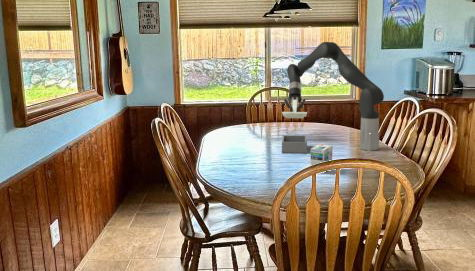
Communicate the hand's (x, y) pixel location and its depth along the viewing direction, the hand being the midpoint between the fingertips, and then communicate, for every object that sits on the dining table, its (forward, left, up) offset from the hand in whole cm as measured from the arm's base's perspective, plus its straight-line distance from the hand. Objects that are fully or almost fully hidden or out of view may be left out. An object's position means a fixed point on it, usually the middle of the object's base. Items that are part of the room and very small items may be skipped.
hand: (294, 112), depth 261 cm
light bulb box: (-66, +24, -16) cm, 72 cm away
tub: (-26, +15, -16) cm, 33 cm away
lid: (-5, +3, -1) cm, 6 cm away
